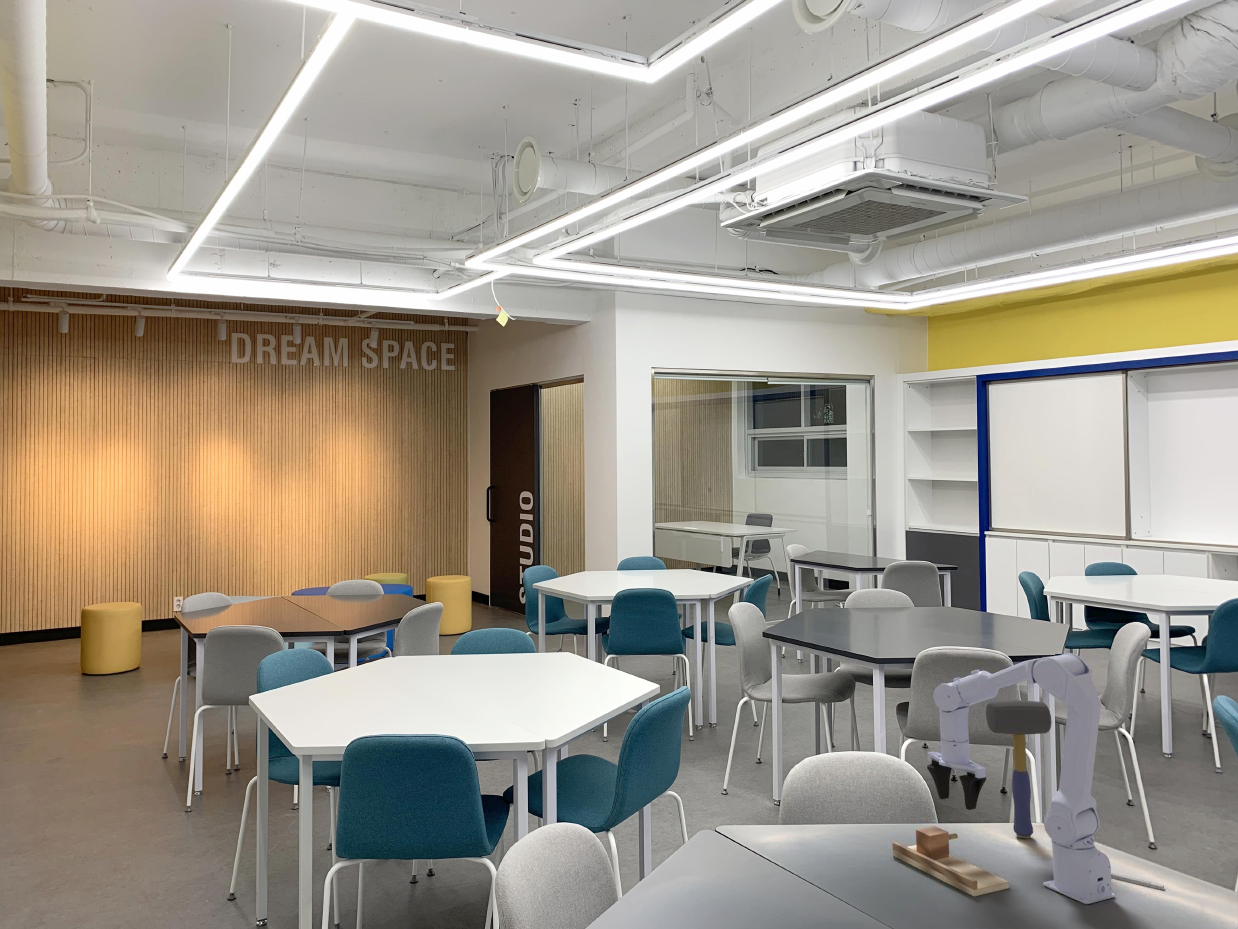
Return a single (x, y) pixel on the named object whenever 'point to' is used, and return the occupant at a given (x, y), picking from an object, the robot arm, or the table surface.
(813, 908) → the table surface
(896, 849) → the board
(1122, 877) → the pale grey thin rod
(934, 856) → the brown wooden block
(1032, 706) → the rubber mallet
